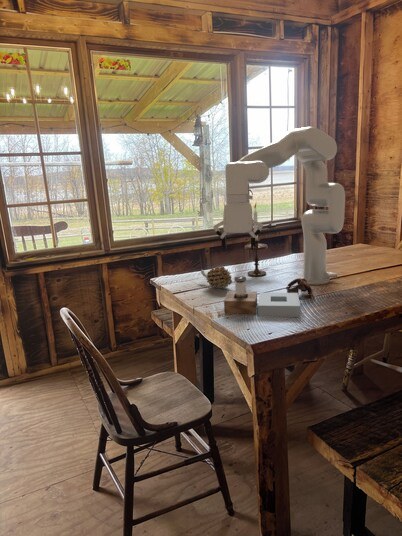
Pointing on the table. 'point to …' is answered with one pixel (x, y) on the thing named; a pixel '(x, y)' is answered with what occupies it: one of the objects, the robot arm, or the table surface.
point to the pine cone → (218, 277)
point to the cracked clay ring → (300, 287)
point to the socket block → (279, 305)
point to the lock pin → (240, 286)
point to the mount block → (240, 303)
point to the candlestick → (256, 251)
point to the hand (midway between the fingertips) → (238, 248)
